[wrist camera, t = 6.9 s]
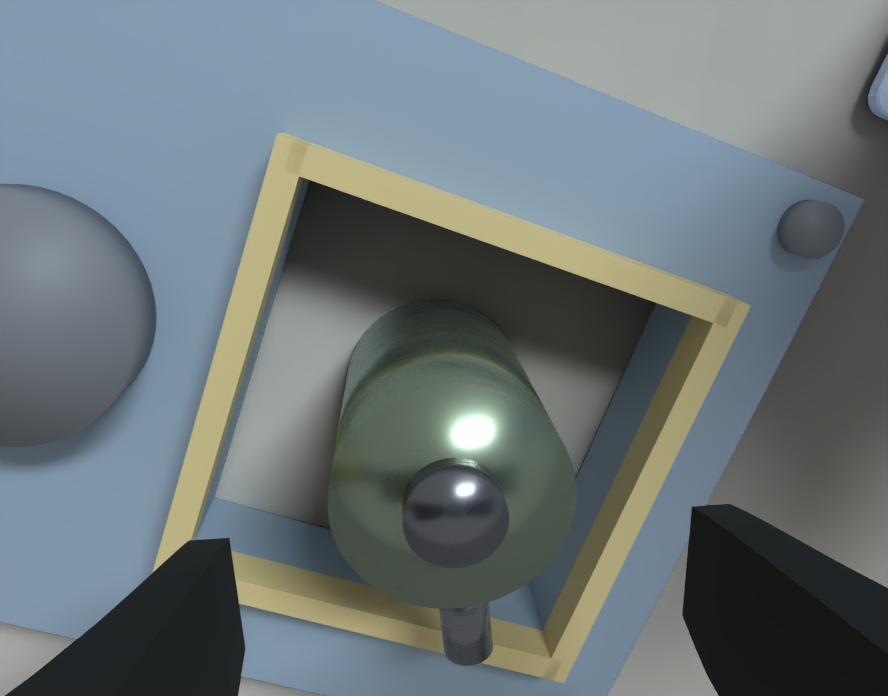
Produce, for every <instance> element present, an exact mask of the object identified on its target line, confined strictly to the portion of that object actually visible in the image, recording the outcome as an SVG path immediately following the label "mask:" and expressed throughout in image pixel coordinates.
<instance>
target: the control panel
mask: <svg viewBox="0 0 888 696" xmlns="http://www.w3.org/2000/svg"><path fill="white" fill-rule="evenodd" d="M310 180H311V181H314V182H317V183H320V184H323V185H325V186H328V187H331V188H334V189H337V190H339V191H342V192H345V193H348V194H351V195H354V196H356V197H359V198H362V199H365V200H368V201H370V202H373V203H376V204H379V205H382V206H385V207H387V208H390V209H393V210H396V211H399V212H402V213H404V214H407V215H410V216H413V217H416V218H418V219H421V220H424V221H427V222H430V223H433V224H435V225H438V226H441V227H444V228H447V229H450V230H452V231H455V232H458V233H461V234H464V235H466V236H469V237H472V238H475V239H478V240H481V241H483V242H486V243H489V244H492V245H495V246H497V247H500V248H503V249H506V250H509V251H512V252H514V253H517V254H520V255H523V256H526V257H529V258H531V259H534V260H537V261H540V262H543V263H545V264H548V265H551V266H554V267H557V268H560V269H562V270H565V271H568V272H571V273H574V274H577V275H579V276H582V277H585V278H588V279H591V280H593V281H596V282H599V283H602V284H605V285H608V286H610V287H613V288H616V289H619V290H622V291H624V292H627V293H630V294H633V295H636V296H639V297H641V298H644V299H647V300H650V301H653V302H656V304H655V306H654V309H653V311H652V313H651V315H650V317H649V319H648V322H647V324H646V326H645V328H644V330H643V333H642V335H641V337H640V339H639V341H638V344H637V346H636V348H635V350H634V352H633V355H632V357H631V359H630V361H629V363H628V365H627V368H626V370H625V372H624V374H623V376H622V379H621V381H620V383H619V385H618V387H617V390H616V392H615V394H614V396H613V398H612V401H611V403H610V405H609V407H608V409H607V412H606V414H605V416H604V418H603V420H602V422H601V425H600V427H599V429H598V431H597V433H596V436H595V438H594V440H593V442H592V444H591V447H590V449H589V451H588V453H587V455H586V458H585V460H584V462H583V464H582V466H581V468H580V471H579V473H578V475H577V477H576V479H575V481H576V506H575V512H574V517H573V520H572V523H571V527H570V530H569V532H568V534H567V536H566V538H565V541H564V543H563V544H562V546H561V548H560V549H559V551H558V552H557V554H556V555H555V557H554V558H553V559H552V560H551V561H550V563H549V564H548V565H547V566H546V567H545V568H544V569H543V570H542V571H541V572H540V573H539V574H538V575H537V576H536V577H535V578H533V579H532V580H531V581H529V582H528V583H527V584H525V585H524V586H523V587H521V588H519V589H517V590H516V591H514V592H512V593H510V594H508V595H506V596H504V597H501V598H499V599H497V600H494V601H491V602H489V610H490V620H491V630H492V640H493V651H492V653H491V655H490V656H489V657H488V658H487V659H486V660H485V661H483V662H481V663H479V664H476V665H471V666H462V665H458V664H455V663H453V662H451V661H450V660H449V659H448V658H447V657H446V655H445V653H444V646H443V638H442V630H441V622H440V614H439V609H434V608H427V607H420V606H416V605H412V604H408V603H404V602H402V601H399V600H397V599H394V598H392V597H389V596H388V595H386V594H384V593H382V592H380V591H378V590H377V589H375V588H374V587H372V586H371V585H370V584H368V583H367V582H366V581H364V580H363V579H362V578H361V577H360V576H359V575H358V574H357V573H356V572H355V571H354V570H353V569H352V568H351V566H350V565H349V564H348V563H347V561H346V560H345V559H344V557H343V555H342V554H341V552H340V550H339V549H338V547H337V545H336V542H335V540H334V537H333V535H332V532H331V530H330V529H327V528H323V527H319V526H315V525H312V524H308V523H304V522H301V521H297V520H293V519H289V518H286V517H282V516H278V515H275V514H271V513H267V512H263V511H260V510H256V509H252V508H248V507H245V506H241V505H237V504H234V503H230V502H226V501H222V500H219V499H215V498H214V496H215V493H216V490H217V486H218V483H219V480H220V476H221V473H222V470H223V466H224V463H225V460H226V456H227V453H228V450H229V447H230V443H231V440H232V437H233V433H234V430H235V427H236V423H237V420H238V417H239V413H240V410H241V407H242V403H243V400H244V397H245V393H246V390H247V387H248V384H249V380H250V377H251V374H252V370H253V367H254V364H255V360H256V357H257V354H258V350H259V347H260V344H261V340H262V337H263V334H264V331H265V327H266V324H267V321H268V317H269V314H270V311H271V307H272V304H273V301H274V297H275V294H276V291H277V287H278V284H279V281H280V278H281V274H282V271H283V268H284V264H285V261H286V258H287V254H288V251H289V248H290V244H291V241H292V238H293V234H294V231H295V228H296V224H297V221H298V218H299V215H300V211H301V208H302V205H303V201H304V198H305V195H306V191H307V188H308V185H309V181H310ZM864 200H865V199H863V198H861V197H858V196H856V195H853V194H851V193H848V192H846V191H843V190H841V189H838V188H836V187H834V186H831V185H829V184H826V183H824V182H821V181H819V180H816V179H814V178H811V177H809V176H806V175H804V174H801V173H799V172H797V171H794V170H792V169H789V168H787V167H784V166H782V165H779V164H777V163H774V162H772V161H769V160H767V159H764V158H762V157H760V156H757V155H755V154H752V153H750V152H747V151H745V150H742V149H740V148H737V147H735V146H732V145H730V144H728V143H725V142H723V141H720V140H718V139H715V138H713V137H710V136H708V135H705V134H703V133H700V132H698V131H695V130H693V129H691V128H688V127H686V126H683V125H681V124H678V123H676V122H673V121H671V120H668V119H666V118H663V117H661V116H658V115H656V114H654V113H651V112H649V111H646V110H644V109H641V108H639V107H636V106H634V105H631V104H629V103H626V102H624V101H622V100H619V99H617V98H614V97H612V96H609V95H607V94H604V93H602V92H599V91H597V90H594V89H592V88H589V87H587V86H585V85H582V84H580V83H577V82H575V81H572V80H570V79H567V78H565V77H562V76H560V75H557V74H555V73H552V72H550V71H548V70H545V69H543V68H540V67H538V66H535V65H533V64H530V63H528V62H525V61H523V60H520V59H518V58H516V57H513V56H511V55H508V54H506V53H503V52H501V51H498V50H496V49H493V48H491V47H488V46H486V45H483V44H481V43H479V42H476V41H474V40H471V39H469V38H466V37H464V36H461V35H459V34H456V33H454V32H451V31H449V30H446V29H444V28H442V27H439V26H437V25H434V24H432V23H429V22H427V21H424V20H422V19H419V18H417V17H414V16H412V15H410V14H407V13H405V12H402V11H400V10H397V9H395V8H392V7H390V6H387V5H385V4H382V3H380V2H377V1H375V0H0V622H3V623H8V624H12V625H17V626H21V627H25V628H30V629H34V630H39V631H43V632H47V633H52V634H56V635H61V636H65V637H69V638H74V639H78V638H79V637H80V636H82V635H83V634H84V633H85V632H86V631H88V630H89V629H90V628H91V627H93V626H94V625H95V624H96V623H97V622H99V621H100V620H101V619H102V618H103V617H104V616H105V615H106V614H108V613H109V612H110V611H111V610H112V609H113V608H114V607H115V606H116V605H118V604H119V603H120V602H121V601H122V600H123V599H124V598H125V597H127V596H128V595H129V594H130V593H131V592H132V591H133V590H134V589H135V588H137V587H138V586H139V585H140V584H141V583H142V582H143V581H144V580H145V579H146V578H147V577H149V576H150V575H151V574H152V573H153V572H154V571H155V570H156V569H157V568H158V567H159V566H160V565H162V564H163V563H164V562H165V561H166V560H167V559H168V558H169V557H170V556H171V555H173V554H174V553H175V552H176V551H177V550H178V549H179V548H180V547H182V546H183V545H184V544H185V543H186V542H188V541H189V540H204V539H218V538H230V545H231V552H232V559H233V566H234V573H235V580H236V586H237V593H238V600H239V607H240V614H241V621H242V628H243V635H244V641H245V655H244V661H243V667H242V673H241V677H246V678H250V679H255V680H259V681H264V682H268V683H272V684H277V685H281V686H286V687H290V688H294V689H299V690H303V691H308V692H312V693H316V694H321V695H325V696H607V695H608V693H609V692H610V690H611V688H612V686H613V684H614V682H615V680H616V678H617V676H618V674H619V672H620V670H621V668H622V666H623V665H624V663H625V661H626V659H627V657H628V655H629V653H630V651H631V649H632V647H633V645H634V643H635V641H636V639H637V638H638V636H639V634H640V632H641V630H642V628H643V626H644V624H645V622H646V620H647V618H648V616H649V614H650V612H651V611H652V609H653V607H654V605H655V603H656V601H657V599H658V597H659V595H660V593H661V591H662V589H663V587H664V586H665V584H666V582H667V580H668V578H669V576H670V574H671V572H672V570H673V568H674V566H675V564H676V562H677V560H678V559H679V557H680V555H681V553H682V551H683V549H684V547H685V545H686V543H687V541H688V539H689V533H690V522H691V510H692V507H693V506H706V505H707V503H708V501H709V499H710V497H711V495H712V493H713V491H714V489H715V487H716V485H717V483H718V481H719V480H720V478H721V476H722V474H723V472H724V470H725V468H726V466H727V464H728V462H729V460H730V458H731V456H732V454H733V453H734V451H735V449H736V447H737V445H738V443H739V441H740V439H741V437H742V435H743V433H744V431H745V429H746V428H747V426H748V424H749V422H750V420H751V418H752V416H753V414H754V412H755V410H756V408H757V406H758V404H759V402H760V401H761V399H762V397H763V395H764V393H765V391H766V389H767V387H768V385H769V383H770V381H771V379H772V377H773V375H774V374H775V372H776V370H777V368H778V366H779V364H780V362H781V360H782V358H783V356H784V354H785V352H786V350H787V349H788V347H789V345H790V343H791V341H792V339H793V337H794V335H795V333H796V331H797V329H798V327H799V325H800V323H801V322H802V320H803V318H804V316H805V314H806V312H807V310H808V308H809V306H810V304H811V302H812V300H813V298H814V296H815V295H816V293H817V291H818V289H819V287H820V285H821V283H822V281H823V279H824V277H825V275H826V273H827V271H828V269H829V268H830V266H831V264H832V262H833V260H834V258H835V256H836V254H837V252H838V250H839V248H840V246H841V244H842V243H843V241H844V239H845V237H846V235H847V233H848V231H849V229H850V227H851V225H852V223H853V221H854V219H855V217H856V216H857V214H858V212H859V210H860V208H861V206H862V204H863V202H864Z"/></svg>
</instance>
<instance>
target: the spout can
mask: <svg viewBox="0 0 888 696" xmlns="http://www.w3.org/2000/svg"><path fill="white" fill-rule="evenodd" d="M575 506H576V481H575V473H574V470H573V466H572V463H571V459H570V457H569V455H568V453H567V450H566V448H565V446H564V444H563V442H562V440H561V439H560V437H559V435H558V433H557V431H556V429H555V427H554V425H553V423H552V422H551V420H550V418H549V416H548V414H547V412H546V410H545V408H544V407H543V405H542V403H541V401H540V399H539V397H538V395H537V393H536V391H535V390H534V388H533V386H532V384H531V382H530V380H529V378H528V376H527V375H526V373H525V371H524V369H523V367H522V365H521V363H520V361H519V359H518V358H517V356H516V354H515V352H514V350H513V348H512V346H511V344H510V343H509V341H508V339H507V338H506V336H505V335H504V333H503V332H502V331H501V330H500V329H499V327H498V326H497V325H496V324H495V323H494V322H492V321H491V320H490V319H489V318H488V317H486V316H485V315H483V314H482V313H480V312H479V311H477V310H475V309H473V308H471V307H469V306H466V305H463V304H460V303H456V302H451V301H444V300H424V301H418V302H413V303H410V304H406V305H403V306H401V307H398V308H396V309H394V310H392V311H390V312H388V313H387V314H385V315H384V316H382V317H381V318H379V319H378V320H377V321H376V322H375V323H374V324H372V325H371V326H370V328H369V329H368V330H367V331H366V332H365V333H364V334H363V336H362V337H361V339H360V340H359V342H358V343H357V345H356V347H355V349H354V351H353V354H352V356H351V359H350V362H349V367H348V372H347V378H346V384H345V390H344V396H343V402H342V408H341V414H340V420H339V426H338V432H337V438H336V445H335V451H334V457H333V463H332V469H331V475H330V481H329V487H328V497H327V510H328V519H329V524H330V528H331V532H332V535H333V537H334V540H335V542H336V545H337V547H338V549H339V550H340V552H341V554H342V555H343V557H344V559H345V560H346V561H347V563H348V564H349V565H350V566H351V568H352V569H353V570H354V571H355V572H356V573H357V574H358V575H359V576H360V577H361V578H362V579H363V580H364V581H366V582H367V583H368V584H370V585H371V586H372V587H374V588H375V589H377V590H378V591H380V592H382V593H384V594H386V595H388V596H389V597H392V598H394V599H397V600H399V601H402V602H404V603H408V604H412V605H416V606H420V607H427V608H434V609H439V614H440V622H441V630H442V638H443V646H444V653H445V655H446V657H447V658H448V659H449V660H450V661H451V662H453V663H455V664H458V665H462V666H471V665H476V664H479V663H481V662H483V661H485V660H486V659H487V658H488V657H489V656H490V655H491V653H492V651H493V640H492V630H491V620H490V610H489V602H491V601H494V600H497V599H499V598H501V597H504V596H506V595H508V594H510V593H512V592H514V591H516V590H517V589H519V588H521V587H523V586H524V585H525V584H527V583H528V582H529V581H531V580H532V579H533V578H535V577H536V576H537V575H538V574H539V573H540V572H541V571H542V570H543V569H544V568H545V567H546V566H547V565H548V564H549V563H550V561H551V560H552V559H553V558H554V557H555V555H556V554H557V552H558V551H559V549H560V548H561V546H562V544H563V543H564V541H565V538H566V536H567V534H568V532H569V530H570V527H571V523H572V520H573V517H574V512H575Z"/></svg>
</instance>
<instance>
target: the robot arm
mask: <svg viewBox="0 0 888 696" xmlns="http://www.w3.org/2000/svg"><path fill="white" fill-rule="evenodd" d="M868 105H869V107H870V109H871V111H872V112H873V113H874V114H875V115H877V116H878V117H880V118H883V119H885V120H887V121H888V54H887V56H886V58H885V60H884V62H883V64H882V66H881V68H880V70H879V72H878V74H877V76H876V78H875V80H874V82H873V84H872V86H871V88H870V91H869V95H868ZM682 615H683V618H684V620H685V623H686V625H687V628H688V630H689V633H690V635H691V638H692V640H693V643H694V645H695V648H696V650H697V652H698V655H699V657H700V659H701V662H702V664H703V666H704V669H705V671H706V673H707V675H708V677H709V679H710V681H711V683H712V684H713V686H714V688H715V690H716V692H717V693H718V695H719V696H888V588H887V587H884V586H883V585H881V584H879V583H877V582H875V581H873V580H871V579H869V578H867V577H865V576H863V575H861V574H859V573H858V572H856V571H854V570H852V569H850V568H848V567H846V566H844V565H843V564H841V563H839V562H837V561H835V560H833V559H832V558H830V557H828V556H826V555H824V554H822V553H821V552H819V551H817V550H815V549H813V548H812V547H810V546H808V545H806V544H804V543H803V542H801V541H799V540H797V539H795V538H794V537H792V536H790V535H788V534H787V533H785V532H783V531H781V530H779V529H778V528H776V527H774V526H772V525H770V524H768V523H767V522H765V521H763V520H761V519H759V518H757V517H755V516H754V515H752V514H750V513H748V512H746V511H744V510H742V509H740V508H737V507H735V506H733V505H731V504H723V505H708V506H693V507H692V510H691V522H690V533H689V545H688V557H687V568H686V580H685V591H684V603H683V614H682ZM244 655H245V641H244V635H243V628H242V621H241V614H240V607H239V600H238V593H237V586H236V580H235V573H234V566H233V559H232V552H231V545H230V538H218V539H204V540H189V541H188V542H186V543H185V544H184V545H183V546H182V547H180V548H179V549H178V550H177V551H176V552H175V553H174V554H173V555H171V556H170V557H169V558H168V559H167V560H166V561H165V562H164V563H163V564H162V565H160V566H159V567H158V568H157V569H156V570H155V571H154V572H153V573H152V574H151V575H150V576H149V577H147V578H146V579H145V580H144V581H143V582H142V583H141V584H140V585H139V586H138V587H137V588H135V589H134V590H133V591H132V592H131V593H130V594H129V595H128V596H127V597H125V598H124V599H123V600H122V601H121V602H120V603H119V604H118V605H116V606H115V607H114V608H113V609H112V610H111V611H110V612H109V613H108V614H106V615H105V616H104V617H103V618H102V619H101V620H100V621H99V622H97V623H96V624H95V625H94V626H93V627H91V628H90V629H89V630H88V631H86V632H85V633H84V634H83V635H82V636H80V637H79V638H78V639H77V640H75V641H74V642H73V643H72V644H71V645H69V646H68V647H67V648H66V649H65V650H63V651H62V652H61V653H60V654H58V655H57V656H56V657H55V658H54V659H52V660H51V661H50V662H49V663H47V664H46V665H45V666H44V667H43V668H41V669H40V670H39V671H38V672H36V673H35V674H34V675H32V676H31V677H30V678H28V679H27V680H26V681H24V682H23V683H22V684H20V685H19V686H18V687H16V688H15V689H14V690H12V691H11V692H10V693H8V694H7V695H5V696H238V691H239V685H240V679H241V673H242V667H243V661H244Z"/></svg>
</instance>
